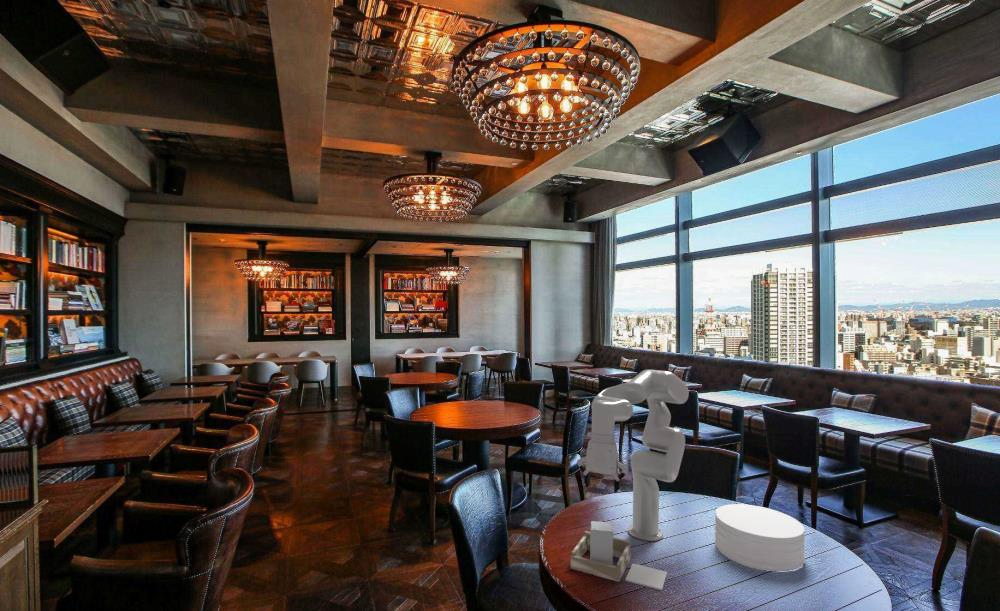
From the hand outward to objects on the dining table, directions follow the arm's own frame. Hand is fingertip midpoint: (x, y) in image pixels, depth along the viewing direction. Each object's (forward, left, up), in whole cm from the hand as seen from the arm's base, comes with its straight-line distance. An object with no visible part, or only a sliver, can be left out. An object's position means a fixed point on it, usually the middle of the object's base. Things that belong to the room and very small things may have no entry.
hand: (601, 489), depth 161 cm
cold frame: (0, 0, -25) cm, 25 cm away
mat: (+1, +15, -25) cm, 29 cm away
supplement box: (0, 0, -25) cm, 25 cm away
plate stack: (-36, +47, -25) cm, 65 cm away
